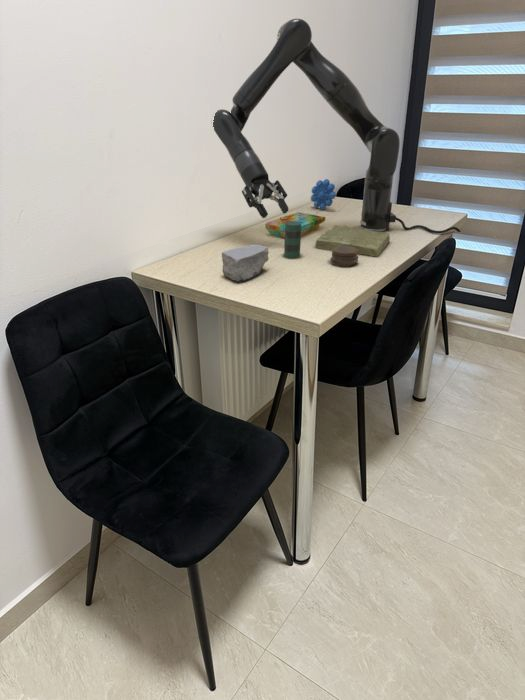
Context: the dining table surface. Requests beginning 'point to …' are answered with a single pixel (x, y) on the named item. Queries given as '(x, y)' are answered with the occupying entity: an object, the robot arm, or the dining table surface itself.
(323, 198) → the grapes
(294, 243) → the chip column
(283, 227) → the puzzle game
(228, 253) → the decorative stone
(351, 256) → the chip pile
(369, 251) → the decorative tile
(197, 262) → the dining table surface
